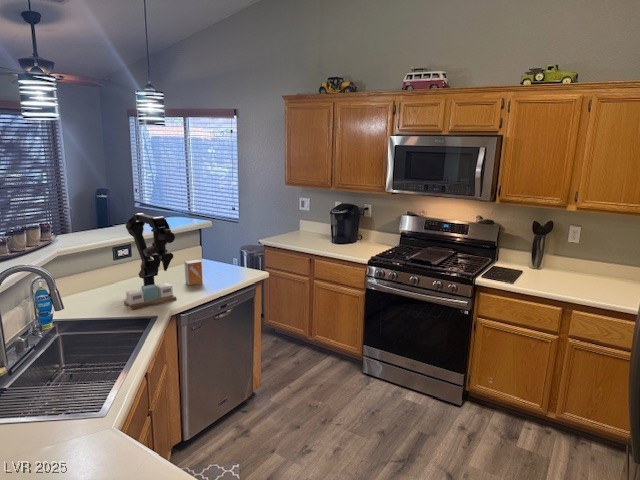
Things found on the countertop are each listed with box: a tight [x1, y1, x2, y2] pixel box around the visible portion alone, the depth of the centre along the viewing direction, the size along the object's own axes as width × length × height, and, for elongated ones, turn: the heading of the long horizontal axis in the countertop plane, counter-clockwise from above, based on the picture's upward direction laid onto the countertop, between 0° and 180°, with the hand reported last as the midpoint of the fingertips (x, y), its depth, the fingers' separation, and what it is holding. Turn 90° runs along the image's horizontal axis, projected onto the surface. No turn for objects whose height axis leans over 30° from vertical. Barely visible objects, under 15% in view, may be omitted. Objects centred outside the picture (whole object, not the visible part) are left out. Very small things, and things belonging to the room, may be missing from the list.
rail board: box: [123, 295, 178, 311], centre depth 224 cm, size 12×22×2 cm, turn 132°
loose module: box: [141, 284, 158, 301], centre depth 224 cm, size 5×6×6 cm
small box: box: [184, 259, 203, 286], centre depth 254 cm, size 8×6×13 cm
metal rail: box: [125, 294, 175, 306], centre depth 224 cm, size 6×22×1 cm, turn 133°
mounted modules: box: [125, 282, 174, 304], centre depth 223 cm, size 6×21×5 cm, turn 133°
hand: (161, 269), depth 236 cm, fingers open, 9 cm apart
